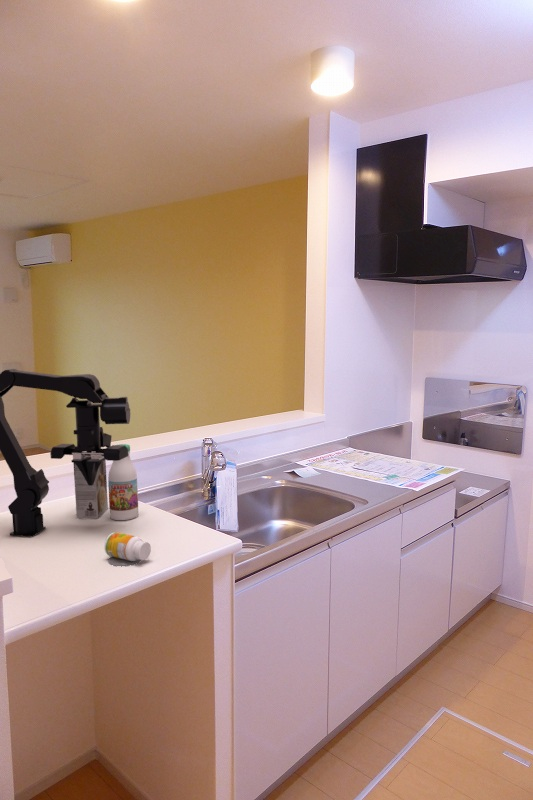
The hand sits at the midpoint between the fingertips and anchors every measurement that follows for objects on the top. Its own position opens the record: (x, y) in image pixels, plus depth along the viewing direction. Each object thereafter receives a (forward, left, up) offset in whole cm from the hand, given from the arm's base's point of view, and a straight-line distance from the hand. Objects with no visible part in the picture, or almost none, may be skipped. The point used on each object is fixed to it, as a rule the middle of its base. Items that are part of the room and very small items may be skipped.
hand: (91, 485), depth 149 cm
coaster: (+16, -17, -12) cm, 26 cm away
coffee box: (-7, +13, -12) cm, 19 cm away
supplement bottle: (+12, -15, -9) cm, 21 cm away
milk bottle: (+3, +12, -12) cm, 17 cm away
